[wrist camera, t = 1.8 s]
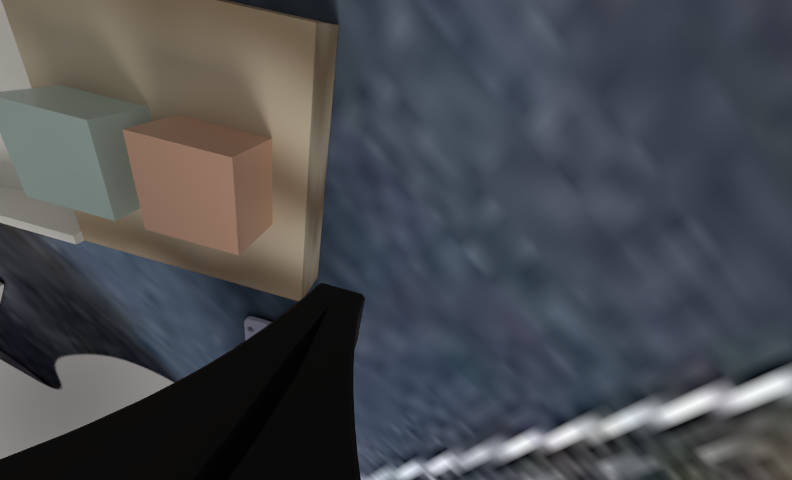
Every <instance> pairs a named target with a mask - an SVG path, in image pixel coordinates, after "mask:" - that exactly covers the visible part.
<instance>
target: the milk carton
mask: <svg viewBox="0 0 792 480" xmlns="http://www.w3.org/2000/svg"><path fill="white" fill-rule="evenodd" d="M3 289H4V284H3V283H1V282H0V301H1V297H2V293H3Z"/></svg>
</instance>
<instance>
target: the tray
mask: <svg viewBox="0 0 792 480" xmlns="http://www.w3.org/2000/svg"><path fill="white" fill-rule="evenodd" d="M29 88H31V85H30V82H29V79H28V76H27V73H26V70H25V67H24V64H23V61H22V59H21V56H20V53H19V50H18V47H17V44H16V41H15V38H14V35H13V33H12V30H11V27H10V24H9V21H8V18H7V15H6V12H5V9H4V7H3V4H2V1H1V0H0V92H2V91H11V90H20V89H29ZM0 223H3V224H7V225H10V226H14V227H17V228H21V229H24V230H28V231H31V232H35V233H38V234H42V235H45V236H49V237H52V238H56V239H59V240H63V241H66V242H70V243H73V244H78V243H80V242H82V241H84V238H83V235H82V232H81V229H80V226H79V223H78V221H77V218H76V215H75V212H74V209H70V208H67V207H63V206H59V205H56V204H52V203H49V202H45V201H41V200H38V199H34V198H31V197H27V196H26V194H25V191H24V189H23V187H22V184H21V182H20V180H19V177H18V175H17V172H16V170H15V168H14V165H13V163H12V160H11V158H10V156H9V153H8V151H7V148H6V146H5V144H4V141H3V139H2V136H1V134H0Z"/></svg>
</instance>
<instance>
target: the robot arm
mask: <svg viewBox="0 0 792 480" xmlns="http://www.w3.org/2000/svg"><path fill="white" fill-rule="evenodd" d="M364 301H365V298H364V296H363V295H362V294H359V293H356V292H352V291H349V290H345V289H341V288H338V287H334V286H331V285H327V284H324V283H321V284H319V285H317V286H316V287H315V288H314V289H313V290H312V291H311V292H309V293H308V294H307V295H306V296H305V297H303V298H302V299H301V300H300V301H299V302H297V303H296V304H295V305H294V306H292V307H291V308H290V309H288V310H287V311H286V312H285V313H283V314H282V315H281V316H279V317H278V318H277V319H275V320H274V321H273V322H271V321H267V320H264V319H260V318H257V317H253V316H248V317H247V318H246V319H245V321H244V327H245V341H244V342H243V343H241V344H240V345H238V346H237V347H235V348H234V349H232V350H231V351H229V352H227V353H226V354H224V355H223V356H221V357H219V358H218V359H216V360H214V361H213V362H211V363H209V364H208V365H206V366H204V367H202V368H201V369H199V370H197V371H196V372H194V373H192V374H190V375H188V376H186V377H185V378H183V379H181V380H179V381H177V382H175V383H173V384H171V385H170V386H168V387H166V388H164V389H162V390H160V391H158V392H156V393H154V394H152V395H150V396H148V397H146V398H144V399H142V400H140V401H138V402H136V403H134V404H131V405H129V406H127V407H125V408H122V409H120V410H118V411H116V412H114V413H111V414H109V415H107V416H105V417H103V418H100V419H98V420H96V421H94V422H92V423H90V424H87V425H85V426H83V427H80V428H78V429H76V430H73V431H71V432H69V433H66V434H64V435H61V436H59V437H56V438H54V439H51V440H48V441H46V442H43V443H41V444H38V445H36V446H33V447H31V448H28V449H26V450H23V451H21V452H18V453H15V454H13V455H11V456H8V457H5V458H3V459H0V480H361V479H360V471H359V463H358V455H357V444H356V432H355V418H354V397H353V364H354V349H355V346H356V343H357V339H358V333H359V328H360V322H361V317H362V311H363V306H364Z"/></svg>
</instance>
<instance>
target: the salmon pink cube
mask: <svg viewBox="0 0 792 480" xmlns="http://www.w3.org/2000/svg"><path fill="white" fill-rule="evenodd" d="M122 130H123V135H124V139H125V143H126V148H127V152H128V156H129V161H130V165H131V169H132V174H133V178H134V182H135V187H136V191H137V195H138V200H139V204H140V208H141V213H142V217H143V221H144V226H145V229H146V230H149V231H153V232H156V233H160V234H163V235H167V236H171V237H174V238H178V239H181V240H185V241H189V242H192V243H196V244H199V245H203V246H207V247H210V248H214V249H217V250H221V251H224V252H228V253H232V254H235V255H240V254H241V253H242V252H243V251H244V250H245V249H246V248H248V247H249V246H250V245H251V244H252V243H253V242H254V241H255V240H256V239H257V238H258V237H260V236H261V235H262V234H263V233H264V232H265V231H266V230H267V229H268V228H269V227H270V226H272V225H273V200H272V138H270V137H266V136H262V135H258V134H254V133H250V132H246V131H242V130H238V129H234V128H230V127H226V126H222V125H218V124H214V123H210V122H206V121H202V120H198V119H194V118H190V117H186V116H182V115H176V116H173V117H169V118H165V119H161V120H157V121H153V122H149V123H145V124H141V125H137V126H133V127H129V128H125V129H122Z"/></svg>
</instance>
